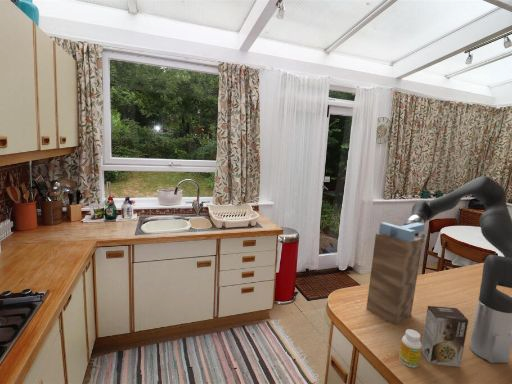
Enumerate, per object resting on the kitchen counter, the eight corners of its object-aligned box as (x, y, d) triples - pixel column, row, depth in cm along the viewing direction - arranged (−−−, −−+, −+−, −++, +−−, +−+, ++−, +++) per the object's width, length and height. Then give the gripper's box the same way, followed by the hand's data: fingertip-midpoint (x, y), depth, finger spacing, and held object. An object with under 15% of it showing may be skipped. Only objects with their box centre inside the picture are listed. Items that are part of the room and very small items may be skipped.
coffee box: (449, 352, 93) (457, 307, 90) (460, 367, 87) (470, 320, 84) (419, 349, 94) (427, 304, 91) (429, 364, 88) (437, 316, 85)
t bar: (405, 226, 123) (406, 217, 122) (435, 234, 113) (437, 224, 113) (378, 232, 112) (380, 223, 111) (409, 242, 102) (411, 231, 101)
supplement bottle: (408, 369, 85) (412, 340, 84) (395, 356, 90) (399, 328, 89) (422, 366, 87) (427, 337, 85) (409, 353, 92) (413, 326, 90)
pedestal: (383, 300, 123) (392, 229, 117) (411, 314, 113) (423, 238, 108) (366, 308, 116) (375, 233, 111) (394, 324, 107) (406, 243, 101)
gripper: (398, 215, 139) (385, 231, 129) (431, 224, 130) (419, 242, 120) (396, 227, 142) (383, 245, 132) (428, 237, 133) (417, 256, 123)
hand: (400, 243), depth 126 cm, fingers open, 8 cm apart
